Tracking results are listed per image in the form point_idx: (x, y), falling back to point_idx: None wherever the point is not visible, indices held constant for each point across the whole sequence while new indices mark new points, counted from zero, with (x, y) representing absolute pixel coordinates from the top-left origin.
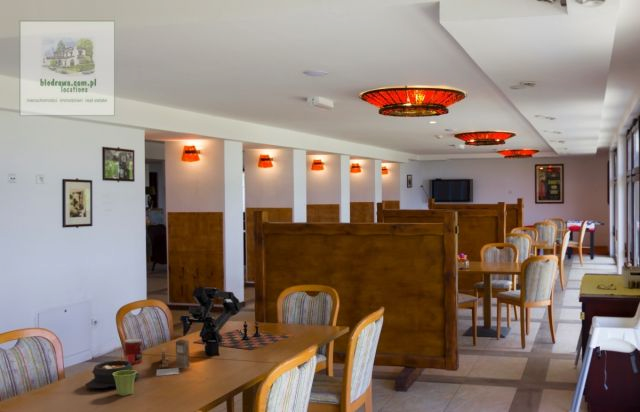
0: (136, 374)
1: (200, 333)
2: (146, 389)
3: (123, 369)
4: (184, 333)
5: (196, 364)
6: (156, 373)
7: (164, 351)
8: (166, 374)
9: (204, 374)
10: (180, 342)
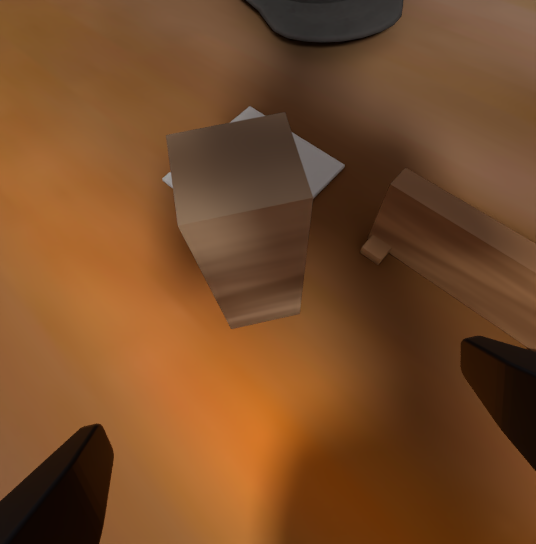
0: (289, 22)
1: (58, 461)
2: (134, 2)
3: None
4: (486, 364)
5: (227, 402)
6: None
7: (498, 243)
8: None
9: (12, 245)
10: (217, 133)
